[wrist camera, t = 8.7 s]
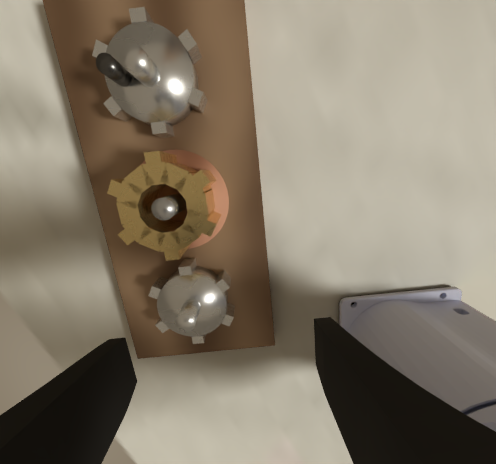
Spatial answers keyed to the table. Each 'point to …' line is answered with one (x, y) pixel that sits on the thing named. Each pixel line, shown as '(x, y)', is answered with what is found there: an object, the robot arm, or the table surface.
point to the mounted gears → (162, 120)
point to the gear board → (187, 153)
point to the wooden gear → (147, 191)
